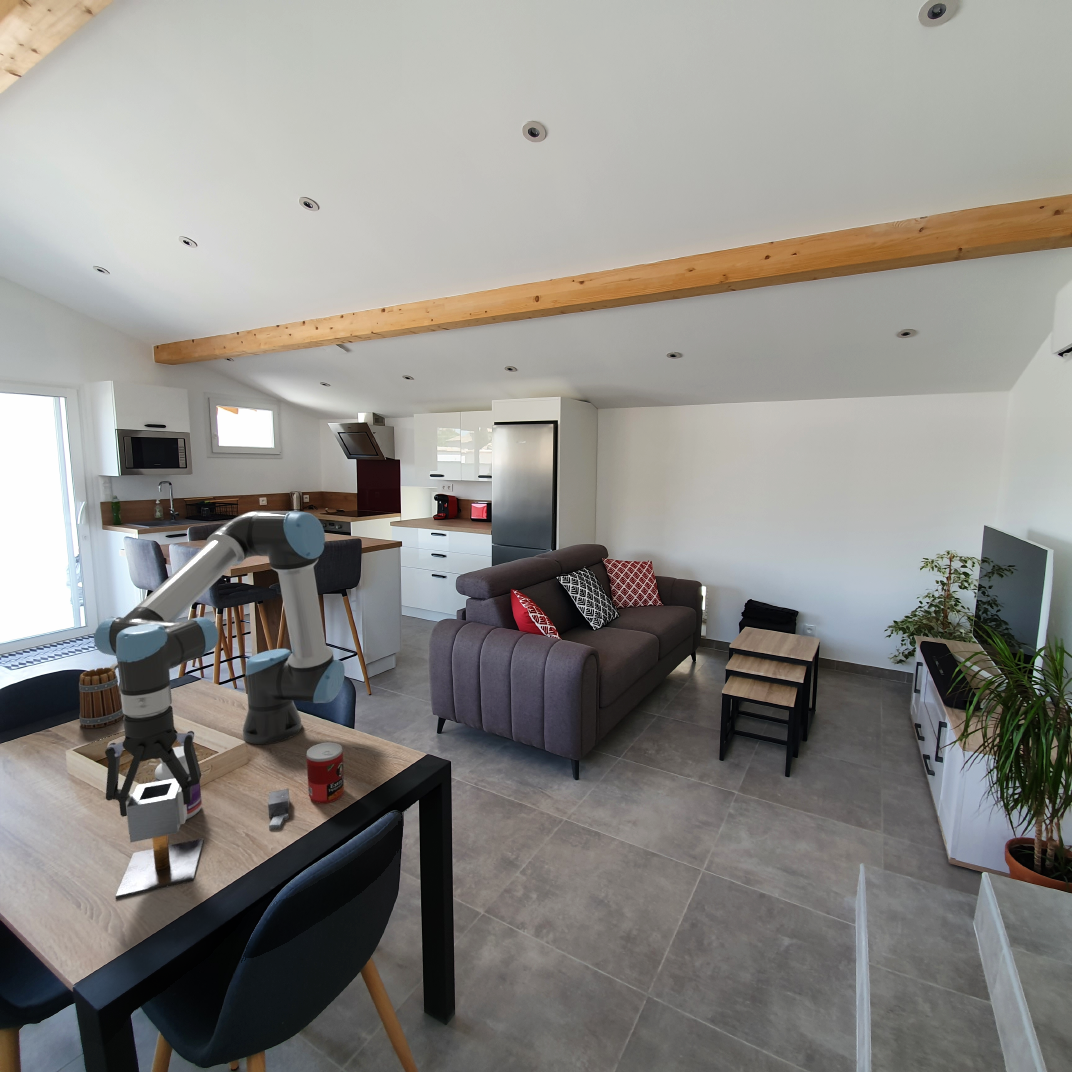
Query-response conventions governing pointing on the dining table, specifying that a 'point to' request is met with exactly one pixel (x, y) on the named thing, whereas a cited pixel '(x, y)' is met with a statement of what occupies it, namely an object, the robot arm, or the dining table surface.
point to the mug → (100, 697)
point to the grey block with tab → (278, 807)
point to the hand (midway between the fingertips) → (158, 824)
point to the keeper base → (160, 877)
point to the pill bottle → (165, 774)
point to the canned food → (325, 772)
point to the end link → (154, 810)
